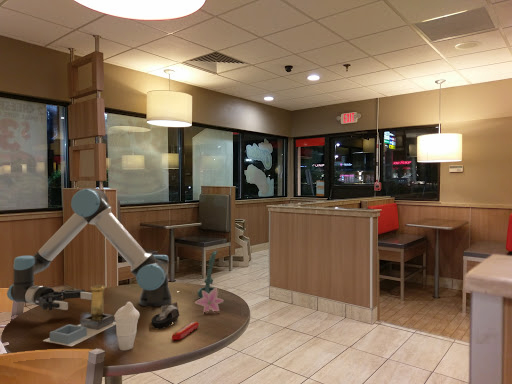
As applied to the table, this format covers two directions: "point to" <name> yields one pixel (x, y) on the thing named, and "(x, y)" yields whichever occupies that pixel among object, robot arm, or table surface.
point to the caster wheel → (166, 316)
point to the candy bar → (184, 331)
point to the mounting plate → (89, 334)
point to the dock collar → (68, 334)
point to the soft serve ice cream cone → (126, 325)
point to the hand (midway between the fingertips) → (80, 301)
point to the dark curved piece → (208, 276)
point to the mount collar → (97, 322)
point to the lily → (209, 300)
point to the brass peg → (97, 302)
